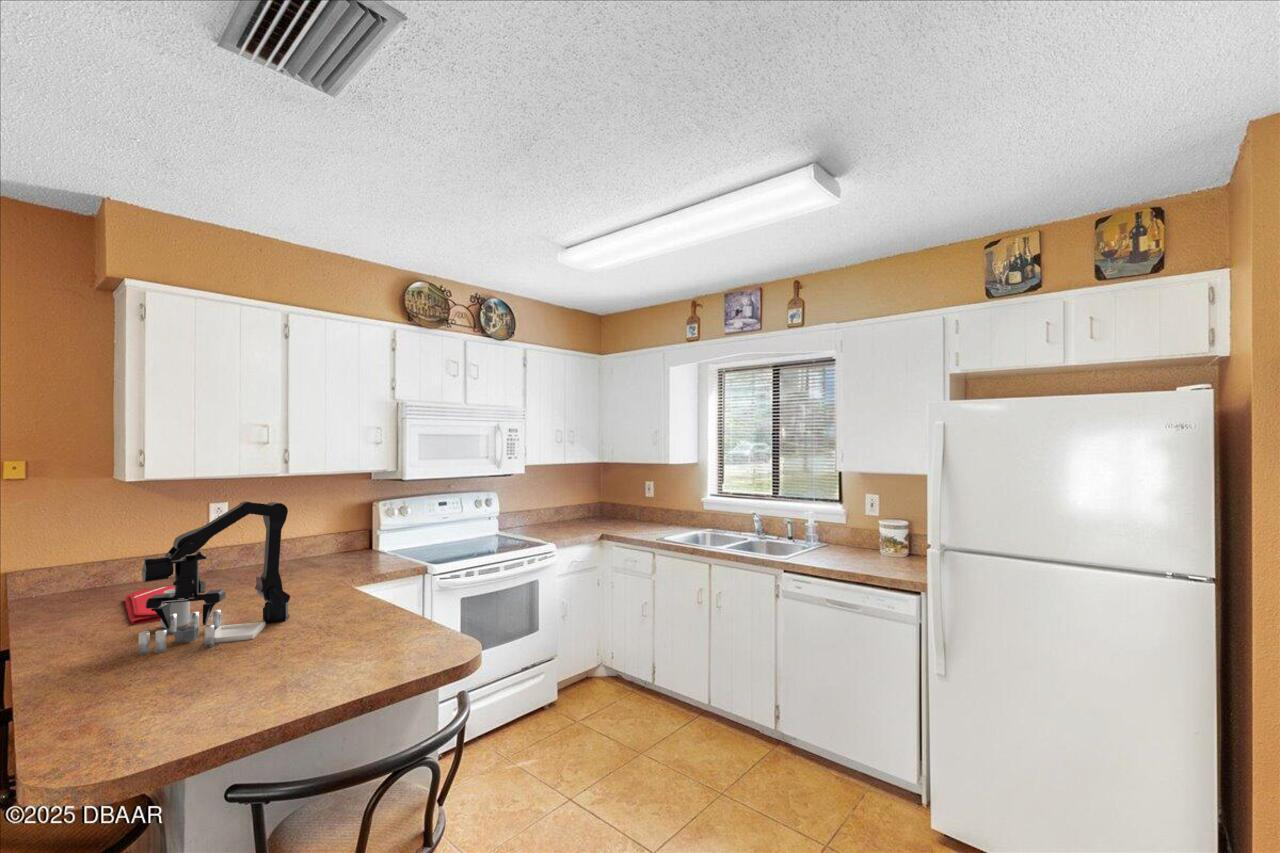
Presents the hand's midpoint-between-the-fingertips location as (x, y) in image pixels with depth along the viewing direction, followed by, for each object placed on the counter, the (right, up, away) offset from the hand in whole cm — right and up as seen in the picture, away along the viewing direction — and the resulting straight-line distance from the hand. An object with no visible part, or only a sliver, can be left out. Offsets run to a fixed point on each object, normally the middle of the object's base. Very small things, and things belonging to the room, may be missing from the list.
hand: (186, 626), depth 177 cm
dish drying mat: (-38, -6, +34) cm, 51 cm away
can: (-14, -5, +13) cm, 19 cm away
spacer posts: (+1, -4, 0) cm, 4 cm away
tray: (+12, -4, +4) cm, 14 cm away
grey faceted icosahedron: (0, -4, 0) cm, 4 cm away
